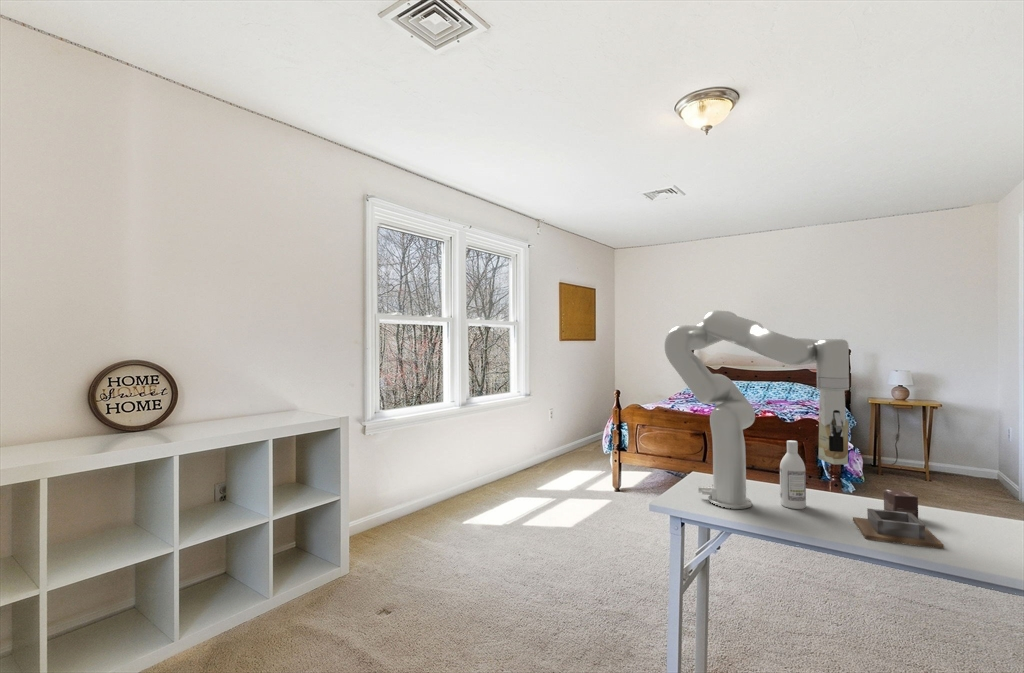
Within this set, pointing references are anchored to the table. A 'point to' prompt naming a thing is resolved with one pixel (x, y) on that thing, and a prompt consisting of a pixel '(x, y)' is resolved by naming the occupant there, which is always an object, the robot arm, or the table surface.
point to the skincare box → (824, 444)
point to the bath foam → (792, 478)
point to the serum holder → (896, 528)
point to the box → (901, 501)
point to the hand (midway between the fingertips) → (833, 447)
